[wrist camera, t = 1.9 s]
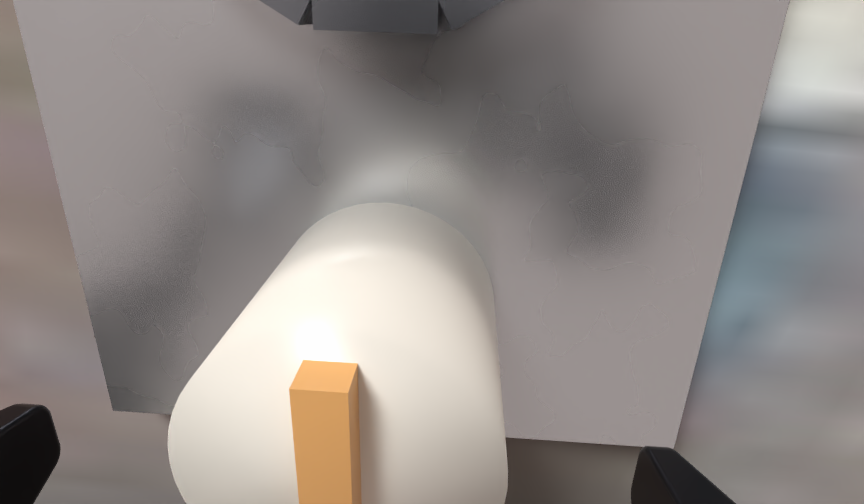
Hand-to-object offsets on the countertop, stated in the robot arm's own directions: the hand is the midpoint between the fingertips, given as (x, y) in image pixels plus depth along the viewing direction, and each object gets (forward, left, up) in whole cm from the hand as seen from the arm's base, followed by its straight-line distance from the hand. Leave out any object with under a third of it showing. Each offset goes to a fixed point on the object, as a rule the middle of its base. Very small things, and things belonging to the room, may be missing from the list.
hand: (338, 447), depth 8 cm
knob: (0, 0, -4) cm, 4 cm away
